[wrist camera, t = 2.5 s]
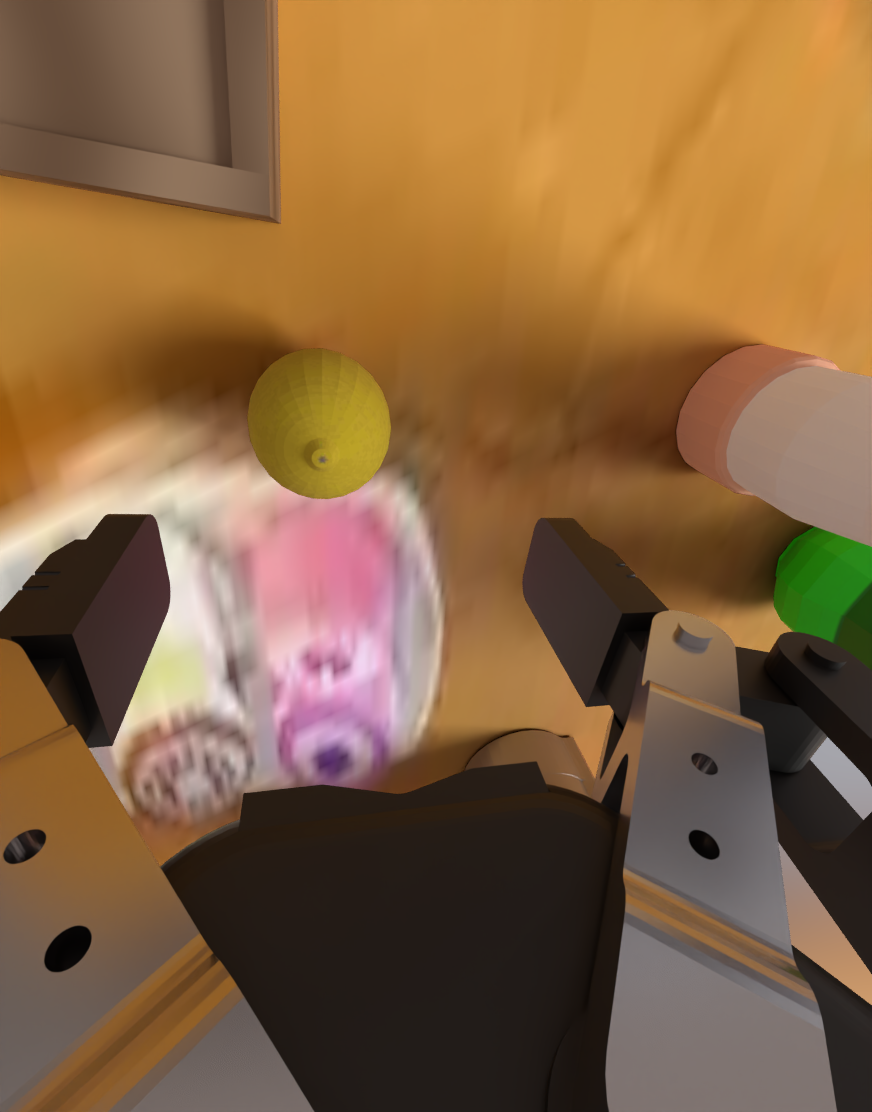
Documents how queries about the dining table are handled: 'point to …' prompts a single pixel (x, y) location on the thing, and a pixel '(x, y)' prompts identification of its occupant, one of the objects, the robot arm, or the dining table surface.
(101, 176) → the walnut box
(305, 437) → the lemon
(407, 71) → the dining table surface
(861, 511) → the salt shaker
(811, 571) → the plastic bottle
